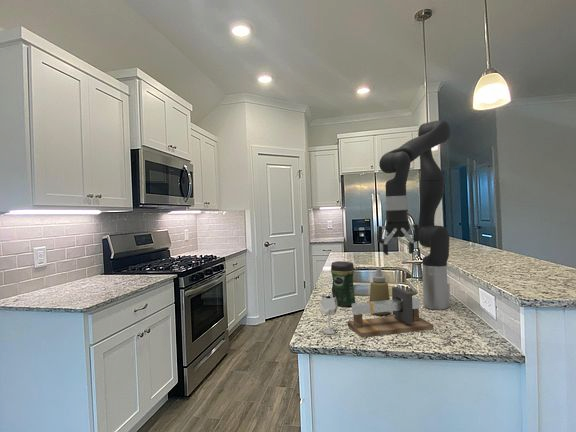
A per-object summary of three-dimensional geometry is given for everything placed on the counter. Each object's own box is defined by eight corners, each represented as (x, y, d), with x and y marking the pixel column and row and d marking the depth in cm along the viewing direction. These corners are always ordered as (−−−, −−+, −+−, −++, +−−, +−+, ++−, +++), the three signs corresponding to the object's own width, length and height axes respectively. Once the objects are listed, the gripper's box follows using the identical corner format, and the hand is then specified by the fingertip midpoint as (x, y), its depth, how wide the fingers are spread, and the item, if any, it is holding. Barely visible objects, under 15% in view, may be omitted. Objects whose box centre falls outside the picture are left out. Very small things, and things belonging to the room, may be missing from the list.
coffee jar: (358, 303, 150) (356, 261, 149) (349, 308, 143) (347, 263, 143) (338, 300, 156) (337, 259, 155) (329, 304, 149) (327, 262, 149)
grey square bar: (414, 306, 124) (414, 296, 124) (420, 309, 121) (420, 299, 120) (351, 312, 119) (351, 302, 119) (355, 315, 116) (355, 305, 116)
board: (413, 318, 129) (413, 302, 129) (433, 329, 117) (433, 311, 117) (347, 325, 123) (347, 308, 123) (361, 337, 112) (360, 319, 112)
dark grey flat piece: (397, 314, 126) (396, 286, 126) (412, 322, 116) (412, 293, 116) (392, 314, 126) (391, 287, 126) (407, 323, 116) (406, 293, 116)
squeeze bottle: (376, 308, 141) (375, 265, 141) (394, 312, 136) (393, 267, 135) (365, 313, 136) (364, 268, 135) (383, 318, 130) (382, 270, 129)
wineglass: (334, 335, 114) (332, 299, 114) (318, 332, 117) (317, 297, 117) (340, 330, 119) (339, 295, 118) (325, 327, 122) (324, 293, 122)
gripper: (413, 207, 127) (415, 251, 128) (374, 209, 128) (376, 253, 128) (420, 208, 119) (422, 254, 120) (378, 210, 120) (380, 256, 121)
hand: (398, 254), depth 124 cm, fingers open, 8 cm apart
